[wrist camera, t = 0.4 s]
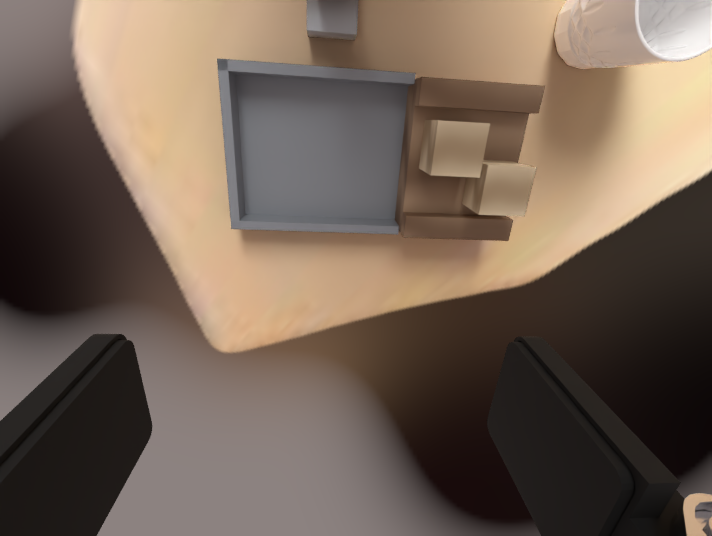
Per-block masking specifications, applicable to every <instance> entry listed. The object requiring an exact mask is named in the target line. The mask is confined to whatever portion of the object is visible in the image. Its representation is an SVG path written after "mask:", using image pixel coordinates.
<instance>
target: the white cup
mask: <svg viewBox="0 0 712 536" xmlns="http://www.w3.org/2000/svg"><path fill="white" fill-rule="evenodd" d="M554 38H555V43H556V48H557V53H558V54H559V55H560V57H561V58H562V59H563V60H564V61H565V63H566V64H567V65H569V66H573V67H576V68H579V69H590V68H613V67H628V66H638V65H647V64H657V63H667V62H678V61H685V60H689V59H692V58H695V57H697V56H699V55H701V54H703V53H705V52H706V51H708V50H710V49H711V48H712V0H566V2H565V4H564V5H563V7H562V9H561V10H560V12H559V14H558V17H557V22H556V27H555V33H554Z"/></svg>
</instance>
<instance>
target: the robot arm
mask: <svg viewBox="0 0 712 536" xmlns="http://www.w3.org/2000/svg"><path fill="white" fill-rule="evenodd" d="M487 421H488V422H487V423H488V430H489V433H490V435H491V437H492V439H493V441H494V443H495V445H496V447H497V449H498V451H499V453H500V455H501V457H502V459H503V461H504V463H505V465H506V467H507V469H508V471H509V473H510V475H511V476H512V478H513V480H514V482H515V484H516V486H517V488H518V490H519V492H520V494H521V496H522V498H523V500H524V502H525V504H526V506H527V508H528V510H529V512H530V514H531V516H532V518H533V520H534V522H535V524H536V526H537V528H538V530H539V532H540V534H541V536H712V495H709V494H703V493H697V494H691V495H689V496H688V497H687V498H686V499H684V498H683V497H682V496H681V495H680V493H679V492H678V491H677V490H676V489H677V488H678V486H679V484H680V482H679V481H678V479H676V477H675V476H674V475H673V474H672V473H671V472H670V471H669V470H668V469H667V468H666V467H665V466H664V465H663V464H662V463H661V462H660V461H659V459H658V458H657V457H656V456H655V455H654V454H653V453H652V452H651V451H650V450H649V449H648V448H647V447H646V446H645V445H644V444H643V443H642V442H641V441H640V440H639V439H638V437H637V436H636V435H635V434H634V433H633V432H632V431H631V430H630V429H629V428H628V427H627V426H626V425H625V424H624V423H623V422H622V421H621V420H620V419H619V418H618V417H617V415H616V414H615V413H614V412H613V411H612V410H611V409H610V408H609V407H608V406H607V405H606V404H605V403H604V402H603V401H602V400H601V399H600V398H599V397H598V396H597V395H596V393H595V392H594V391H593V390H592V389H591V388H590V387H589V386H588V385H587V384H586V383H585V382H584V381H583V380H582V379H581V378H580V377H579V376H578V375H577V373H575V371H574V370H573V369H572V368H571V367H570V366H569V365H568V364H567V363H566V362H565V361H564V360H563V359H562V358H561V357H560V356H559V355H558V354H557V353H556V351H554V350H553V348H552V347H551V346H550V345H549V344H548V343H547V342H546V341H545V340H544V339H543V338H541V337H517V338H515V340H514V342H511V343H509V344H508V347H507V350H506V353H505V357H504V361H503V365H502V368H501V372H500V376H499V379H498V383H497V387H496V390H495V394H494V398H493V401H492V405H491V408H490V412H489V415H488V420H487ZM151 431H152V421H151V417H150V413H149V408H148V405H147V400H146V395H145V391H144V387H143V383H142V378H141V374H140V370H139V365H138V361H137V357H136V352H135V348H134V345H133V343H132V342H131V341H129V340H127V339H126V337H125V336H124V335H122V334H94V335H92V336H91V337H89V338H88V339H87V340H86V341H85V342H84V343H83V344H82V345H81V346H80V347H79V348H78V349H77V350H76V351H74V352H73V353H72V354H71V355H70V356H69V357H68V358H67V359H66V360H65V361H64V362H63V363H62V364H61V365H59V366H58V367H57V368H56V369H55V370H54V371H53V372H52V373H51V374H50V375H49V376H48V377H47V378H46V379H45V380H44V381H43V382H41V384H39V385H38V386H37V387H36V388H35V389H34V390H33V391H32V392H31V393H30V394H29V395H28V396H26V398H25V399H24V400H22V401H21V402H20V403H19V404H18V405H17V406H16V407H15V408H14V409H13V410H12V411H11V412H9V413H8V414H7V415H6V416H5V417H4V418H3V419H2V420H1V421H0V536H97V534H98V532H99V530H100V528H101V527H102V525H103V523H104V521H105V519H106V517H107V516H108V514H109V512H110V510H111V508H112V506H113V505H114V503H115V501H116V499H117V497H118V496H119V494H120V492H121V490H122V488H123V486H124V485H125V483H126V481H127V479H128V477H129V475H130V474H131V472H132V470H133V468H134V466H135V465H136V463H137V461H138V459H139V457H140V455H141V454H142V452H143V450H144V448H145V446H146V444H147V443H148V441H149V438H150V436H151Z"/></svg>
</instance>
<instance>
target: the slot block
mask: <svg viewBox="0 0 712 536" xmlns="http://www.w3.org/2000/svg"><path fill="white" fill-rule="evenodd" d="M544 88H545V86H539V85H525V84H511V83H497V82H484V81H470V80H456V79H442V78H429V77H421V78H419V79H416V80H415V83H414V84H413V85H410V86H408V93H407V103H406V113H405V123H404V133H403V142H402V152H401V162H400V172H399V182H398V191H397V201H396V211H395V221H396V222H397V224H398V226H399V231H400V232H401V234H402V236H403V237H404V238H436V239H468V240H499V241H508V240H509V236H510V232H511V227H512V223H513V220H512V219H510V218H509V217H507V216H500V215H478V214H477V213H475V212H474V211H472V210H471V209H469V208H468V207H466V206H465V205H463V204H462V201H463V195H464V189H465V184H466V178H467V177H456V176H435V175H429V174H428V173H426V172H424V171H423V170H421V169H419V163H420V155H421V147H422V138H423V130H424V122H425V120H441V121H458V122H474V123H490V127H489V132H488V137H487V143H486V148H485V153H484V158H483V160H494V161H513V162H517V163H518V160H519V155H520V151H521V147H522V142H523V138H524V133H525V129H526V125H527V120H528V116H529V113H539V109H540V105H541V101H542V97H543V93H544Z"/></svg>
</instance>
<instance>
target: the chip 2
mask: <svg viewBox="0 0 712 536" xmlns="http://www.w3.org/2000/svg"><path fill="white" fill-rule="evenodd" d="M536 168H537V167H533V166H529V165H525V164H521V163H517V162H513V161H494V160H483V164H482V169H481V174H480V178H477V177H467V178H466V184H465V189H464V195H463V201H462V204H463V205H465V206H466V207H468V208H469V209H471V210H472V211H474V212H475V213H477V214H478V215H500V216H525V213H526V209H527V205H528V201H529V197H530V193H531V189H532V185H533V180H534V176H535V172H536Z"/></svg>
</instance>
